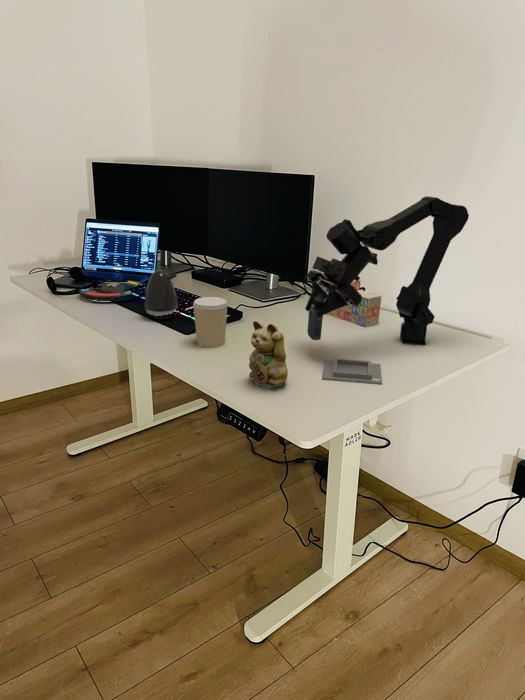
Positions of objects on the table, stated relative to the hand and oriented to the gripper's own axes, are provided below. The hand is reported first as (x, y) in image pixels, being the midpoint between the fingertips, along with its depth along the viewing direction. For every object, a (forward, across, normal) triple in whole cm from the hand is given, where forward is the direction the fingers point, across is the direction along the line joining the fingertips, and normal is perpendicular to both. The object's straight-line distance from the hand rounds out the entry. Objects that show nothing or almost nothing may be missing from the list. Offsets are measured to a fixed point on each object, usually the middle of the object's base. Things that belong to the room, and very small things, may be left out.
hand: (311, 313), depth 138 cm
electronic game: (+33, -81, -16) cm, 89 cm away
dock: (+5, +12, +12) cm, 18 cm away
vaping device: (+4, -1, +6) cm, 7 cm away
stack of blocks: (-12, -27, +30) cm, 42 cm away
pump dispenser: (+27, -48, -10) cm, 56 cm away
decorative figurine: (+20, +10, -3) cm, 23 cm away
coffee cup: (+23, -21, -5) cm, 31 cm away
